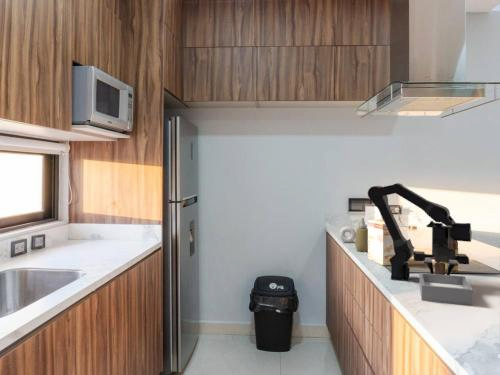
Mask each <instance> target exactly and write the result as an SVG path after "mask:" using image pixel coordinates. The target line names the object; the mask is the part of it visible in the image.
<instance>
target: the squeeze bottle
mask: <svg viewBox="0 0 500 375" xmlns="http://www.w3.org/2000/svg"><path fill="white" fill-rule="evenodd" d="M355 232H356V237H355V239H354V245H355V248H356V251H358V252H360V253H361V252H362V253H363V252H365V253H366V252H368V224H365V218H364V217H361V219H360V222H359V223H358V224H357V228H356V229H355Z"/></svg>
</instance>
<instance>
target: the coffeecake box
mask: <svg viewBox="0 0 500 375" xmlns="http://www.w3.org/2000/svg"><path fill="white" fill-rule="evenodd" d="M367 229H368V251H367V260H369V261H373V262H375V263H376V264H377V265H378V264H379V265H381V266H391V263H390V260H389V259H390V258H392V257H393V256H394V255H395V251H394V247H393V240H392V238H391V235H390V233H389V231H388V229H387V227H386V225H385V222H384V220H382V219H368V220H367Z"/></svg>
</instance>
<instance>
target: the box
mask: <svg viewBox="0 0 500 375" xmlns="http://www.w3.org/2000/svg"><path fill="white" fill-rule="evenodd" d="M418 276H419V277H418V279H419V284H418V285H419V286H418V287H419V290H420V291H419V292H420V293H419V294H420V298H421V301H427V302H436V303H447V304H455V305H456V304H457V305H463V306H464V305H466V306H474V305H473V304H474V301H473V299H474V294H473V292H474V290H473V288H472V286H471V285H470V283H469V282H468V279H467V278H466V276H464V275H463V276H462V275H451V274H450V275H446V274H445V275H439V274H435V273H434V274H431V273H423V272H419V275H418Z"/></svg>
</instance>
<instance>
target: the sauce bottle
mask: <svg viewBox="0 0 500 375" xmlns="http://www.w3.org/2000/svg"><path fill="white" fill-rule="evenodd" d="M449 249H454V250H455V254H459V242H458V241H454V240H453V238H451V237H450V229H449ZM441 263H445V262H441ZM457 264H458V266H454V268H453V269H452V271H451V273H450V274H457V273H458V272H459V270H458V269H459V263H458V262H457ZM446 271H447V263H445V273H446Z"/></svg>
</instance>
